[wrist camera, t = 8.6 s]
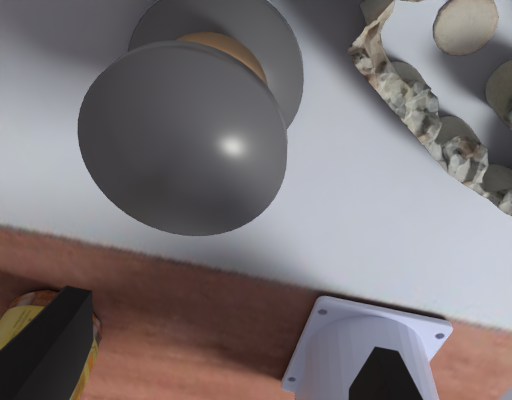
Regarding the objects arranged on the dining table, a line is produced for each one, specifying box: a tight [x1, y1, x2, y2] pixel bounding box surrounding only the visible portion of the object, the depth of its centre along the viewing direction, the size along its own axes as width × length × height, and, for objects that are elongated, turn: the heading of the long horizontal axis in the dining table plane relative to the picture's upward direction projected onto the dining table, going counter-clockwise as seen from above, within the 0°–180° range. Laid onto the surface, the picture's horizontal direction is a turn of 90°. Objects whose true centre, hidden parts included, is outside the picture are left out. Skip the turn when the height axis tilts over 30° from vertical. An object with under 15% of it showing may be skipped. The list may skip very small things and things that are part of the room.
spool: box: [78, 0, 304, 236], centre depth 15 cm, size 7×7×7 cm
